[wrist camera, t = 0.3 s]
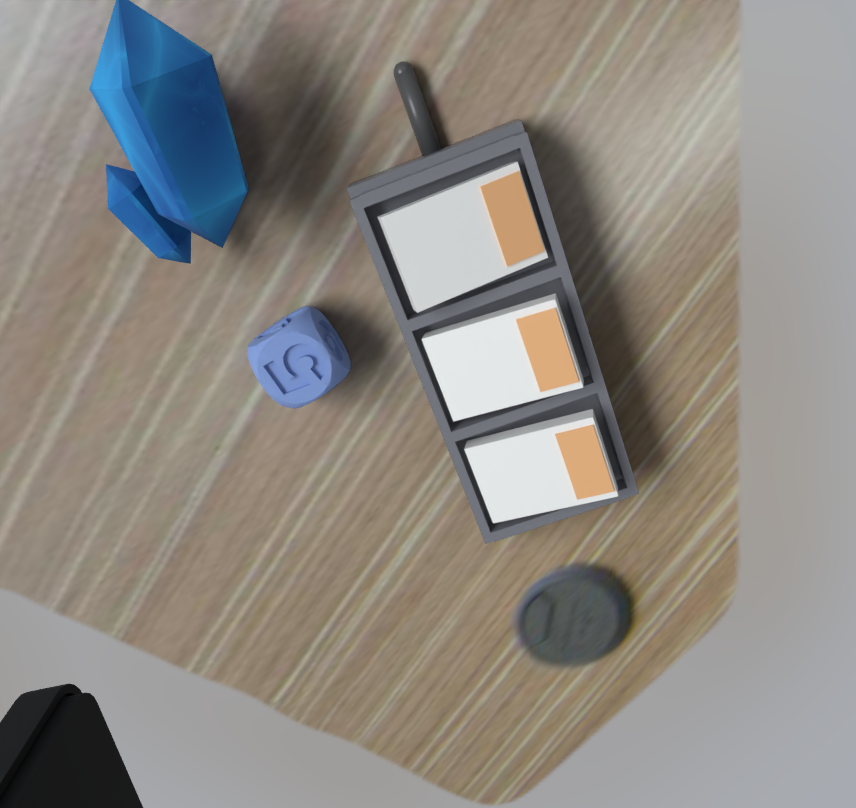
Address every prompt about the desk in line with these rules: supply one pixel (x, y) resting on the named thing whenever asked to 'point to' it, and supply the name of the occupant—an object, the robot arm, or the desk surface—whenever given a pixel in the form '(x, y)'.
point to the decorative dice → (299, 358)
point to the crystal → (167, 135)
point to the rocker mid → (504, 358)
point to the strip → (486, 298)
